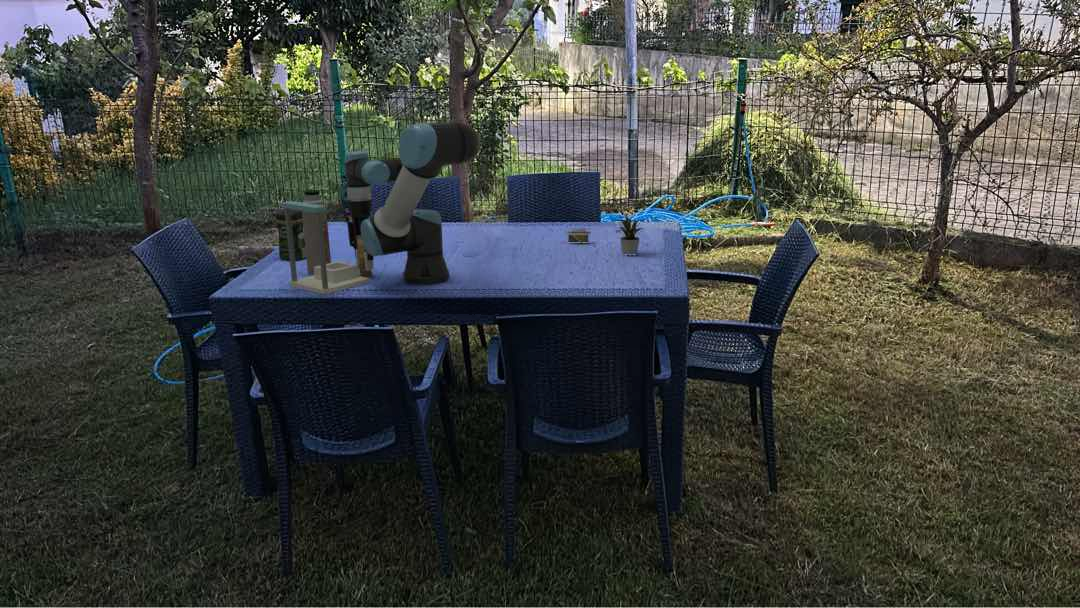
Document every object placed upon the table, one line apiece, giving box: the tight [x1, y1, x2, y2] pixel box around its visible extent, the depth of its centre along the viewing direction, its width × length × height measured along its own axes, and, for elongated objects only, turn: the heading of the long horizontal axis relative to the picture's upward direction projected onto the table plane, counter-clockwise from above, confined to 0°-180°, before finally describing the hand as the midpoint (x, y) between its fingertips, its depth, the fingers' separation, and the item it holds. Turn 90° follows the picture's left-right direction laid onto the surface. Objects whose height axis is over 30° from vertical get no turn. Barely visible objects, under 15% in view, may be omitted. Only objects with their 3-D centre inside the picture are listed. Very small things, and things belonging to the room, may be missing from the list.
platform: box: [565, 227, 592, 243], centre depth 306 cm, size 12×18×7 cm, turn 83°
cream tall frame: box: [280, 200, 370, 295], centre depth 248 cm, size 18×18×27 cm
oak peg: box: [356, 234, 373, 278], centre depth 259 cm, size 4×4×14 cm
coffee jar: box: [275, 208, 306, 261], centre depth 286 cm, size 10×8×19 cm
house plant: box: [612, 212, 648, 255], centre depth 285 cm, size 14×14×16 cm
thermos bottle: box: [302, 190, 332, 276], centre depth 263 cm, size 8×8×28 cm
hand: (365, 268), depth 261 cm, fingers closed on oak peg, 4 cm apart
